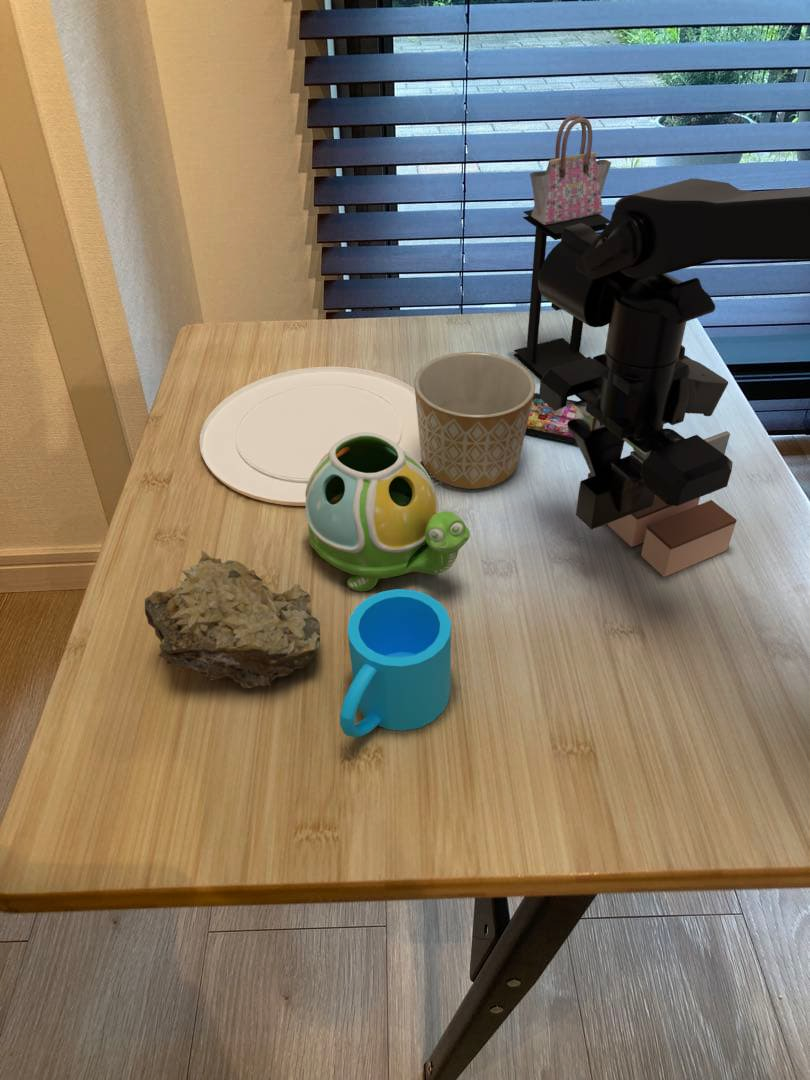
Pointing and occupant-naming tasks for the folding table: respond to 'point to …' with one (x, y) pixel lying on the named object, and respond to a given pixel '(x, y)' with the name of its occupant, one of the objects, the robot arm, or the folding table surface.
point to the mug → (397, 662)
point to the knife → (601, 500)
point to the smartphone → (551, 420)
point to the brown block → (687, 538)
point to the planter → (472, 417)
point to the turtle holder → (378, 513)
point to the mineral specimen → (233, 624)
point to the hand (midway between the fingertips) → (614, 502)
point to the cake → (645, 519)
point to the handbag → (561, 203)
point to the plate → (302, 427)
